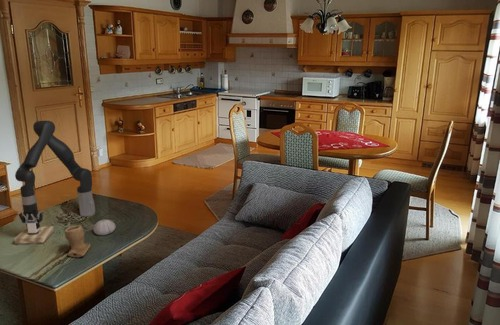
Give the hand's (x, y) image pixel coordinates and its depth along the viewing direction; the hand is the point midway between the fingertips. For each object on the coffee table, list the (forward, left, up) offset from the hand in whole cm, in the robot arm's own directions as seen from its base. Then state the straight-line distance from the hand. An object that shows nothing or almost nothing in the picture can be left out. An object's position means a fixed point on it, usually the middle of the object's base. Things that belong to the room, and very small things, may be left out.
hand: (33, 228), depth 246 cm
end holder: (0, 0, -7) cm, 7 cm away
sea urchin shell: (-40, -6, -7) cm, 41 cm away
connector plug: (0, 0, -2) cm, 2 cm away
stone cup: (-32, +20, -7) cm, 38 cm away
